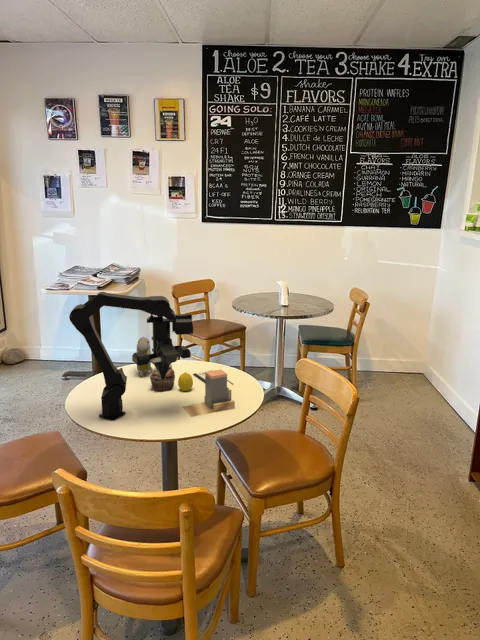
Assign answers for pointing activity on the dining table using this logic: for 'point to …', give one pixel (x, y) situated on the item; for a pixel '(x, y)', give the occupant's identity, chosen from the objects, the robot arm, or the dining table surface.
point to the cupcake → (160, 384)
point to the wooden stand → (204, 409)
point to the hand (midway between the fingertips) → (162, 379)
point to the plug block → (215, 387)
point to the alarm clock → (145, 347)
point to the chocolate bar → (203, 376)
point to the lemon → (185, 382)
